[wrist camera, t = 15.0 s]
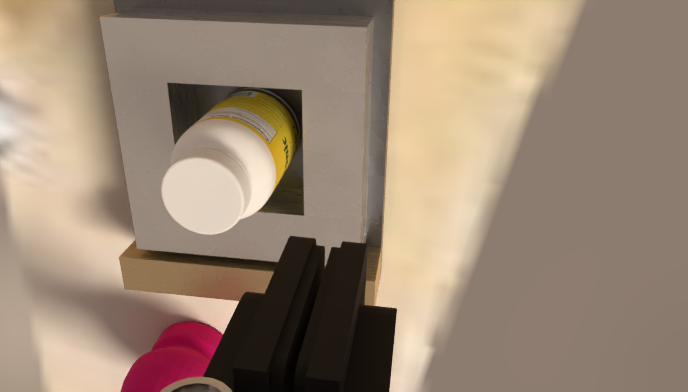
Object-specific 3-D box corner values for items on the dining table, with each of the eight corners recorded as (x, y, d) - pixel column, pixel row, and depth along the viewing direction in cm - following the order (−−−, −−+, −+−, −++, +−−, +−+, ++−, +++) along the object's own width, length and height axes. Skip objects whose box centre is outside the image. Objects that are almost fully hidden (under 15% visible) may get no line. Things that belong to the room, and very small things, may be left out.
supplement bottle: (275, 185, 37) (225, 268, 28) (201, 139, 36) (126, 208, 27) (319, 118, 34) (278, 185, 26) (240, 67, 34) (171, 118, 25)
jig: (115, -51, 33) (64, -46, 29) (396, -44, 31) (389, -38, 27) (158, 251, 42) (125, 291, 37) (381, 272, 40) (373, 317, 35)
